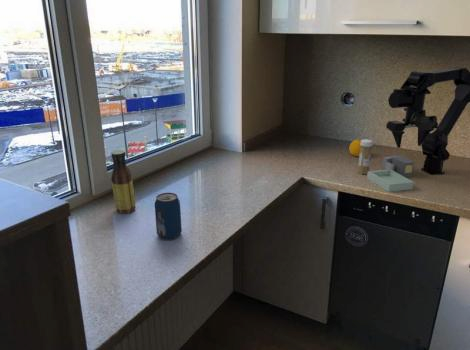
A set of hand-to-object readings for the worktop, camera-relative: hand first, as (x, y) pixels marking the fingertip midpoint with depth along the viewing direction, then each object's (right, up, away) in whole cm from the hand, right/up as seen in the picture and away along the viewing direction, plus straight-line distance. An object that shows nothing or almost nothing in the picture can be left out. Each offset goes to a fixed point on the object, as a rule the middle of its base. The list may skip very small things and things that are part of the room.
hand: (408, 146), depth 154 cm
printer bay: (-2, -9, +10) cm, 13 cm away
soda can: (-86, -28, -41) cm, 99 cm away
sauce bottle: (-102, -23, -25) cm, 108 cm away
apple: (-11, -2, +29) cm, 31 cm away
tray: (-9, -14, -4) cm, 17 cm away
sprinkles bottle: (-15, -10, +7) cm, 20 cm away
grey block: (-1, -11, +6) cm, 12 cm away
